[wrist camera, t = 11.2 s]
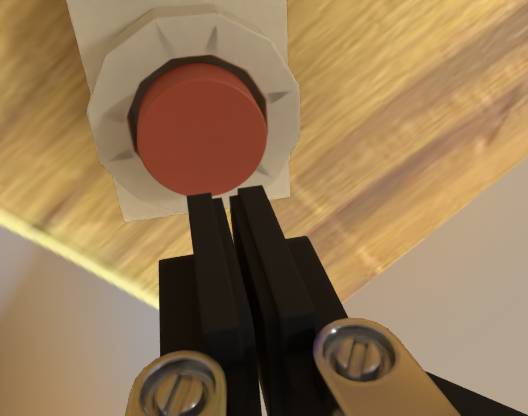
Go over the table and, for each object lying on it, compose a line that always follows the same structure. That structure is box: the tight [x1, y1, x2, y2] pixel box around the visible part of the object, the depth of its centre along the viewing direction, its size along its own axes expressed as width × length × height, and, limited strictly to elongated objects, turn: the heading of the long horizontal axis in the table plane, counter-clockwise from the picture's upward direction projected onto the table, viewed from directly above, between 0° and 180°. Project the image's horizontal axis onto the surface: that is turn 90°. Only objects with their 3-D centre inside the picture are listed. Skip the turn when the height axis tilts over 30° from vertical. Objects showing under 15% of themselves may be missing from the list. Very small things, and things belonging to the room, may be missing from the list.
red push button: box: [137, 63, 267, 196], centre depth 15 cm, size 4×4×2 cm
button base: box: [66, 0, 300, 222], centre depth 17 cm, size 9×7×4 cm
